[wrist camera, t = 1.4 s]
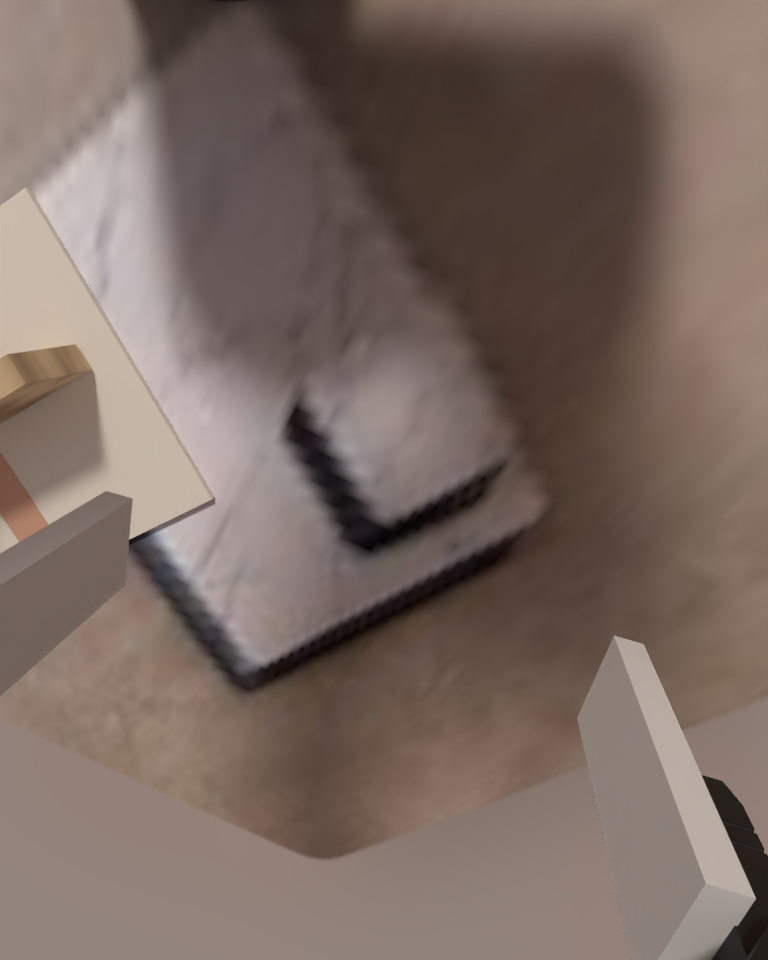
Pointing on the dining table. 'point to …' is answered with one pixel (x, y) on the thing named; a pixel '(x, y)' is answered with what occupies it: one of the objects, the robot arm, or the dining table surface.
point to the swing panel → (36, 376)
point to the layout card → (78, 398)
